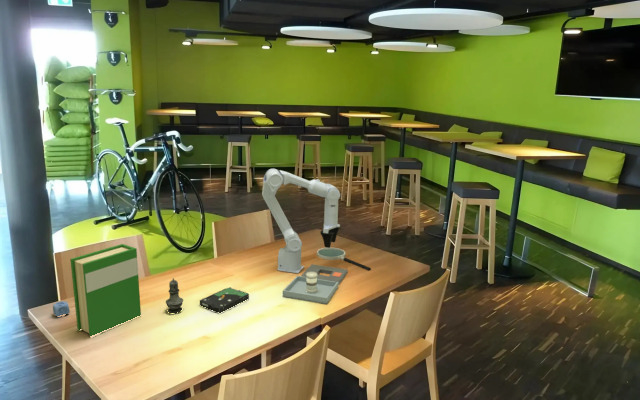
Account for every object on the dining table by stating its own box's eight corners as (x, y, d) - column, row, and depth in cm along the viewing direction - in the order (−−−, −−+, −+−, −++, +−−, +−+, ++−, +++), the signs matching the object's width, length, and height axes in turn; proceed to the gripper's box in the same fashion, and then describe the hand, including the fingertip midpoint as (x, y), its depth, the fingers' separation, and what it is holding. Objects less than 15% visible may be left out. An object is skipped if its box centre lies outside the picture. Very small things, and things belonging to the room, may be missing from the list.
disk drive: (220, 315, 162) (249, 300, 174) (220, 308, 161) (249, 293, 173) (199, 307, 167) (229, 292, 179) (198, 300, 167) (228, 285, 179)
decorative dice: (66, 310, 161) (65, 300, 160) (70, 315, 158) (68, 304, 157) (53, 314, 158) (52, 303, 158) (56, 318, 156) (55, 307, 155)
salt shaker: (167, 315, 160) (165, 282, 157) (164, 308, 165) (162, 276, 162) (185, 312, 162) (184, 279, 159) (181, 305, 167) (180, 273, 164)
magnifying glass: (358, 275, 200) (359, 270, 199) (310, 255, 222) (311, 250, 222) (379, 268, 208) (379, 263, 208) (331, 249, 231) (331, 245, 230)
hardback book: (91, 338, 145) (84, 264, 139) (77, 330, 149) (70, 258, 143) (141, 316, 159) (136, 248, 153) (127, 310, 163) (122, 243, 157)
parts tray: (282, 296, 176) (282, 290, 176) (297, 281, 190) (297, 275, 190) (326, 304, 171) (326, 298, 170) (338, 288, 185) (338, 282, 185)
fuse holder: (300, 279, 192) (300, 275, 192) (311, 267, 205) (311, 263, 205) (338, 285, 188) (338, 281, 187) (347, 272, 201) (347, 269, 200)
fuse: (304, 292, 179) (304, 275, 177) (307, 288, 183) (308, 271, 181) (314, 294, 178) (315, 276, 176) (318, 289, 182) (318, 272, 180)
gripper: (335, 219, 192) (334, 251, 196) (344, 210, 206) (343, 240, 209) (318, 217, 194) (317, 248, 198) (329, 209, 208) (328, 238, 211)
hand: (330, 244), depth 203 cm, fingers open, 7 cm apart
